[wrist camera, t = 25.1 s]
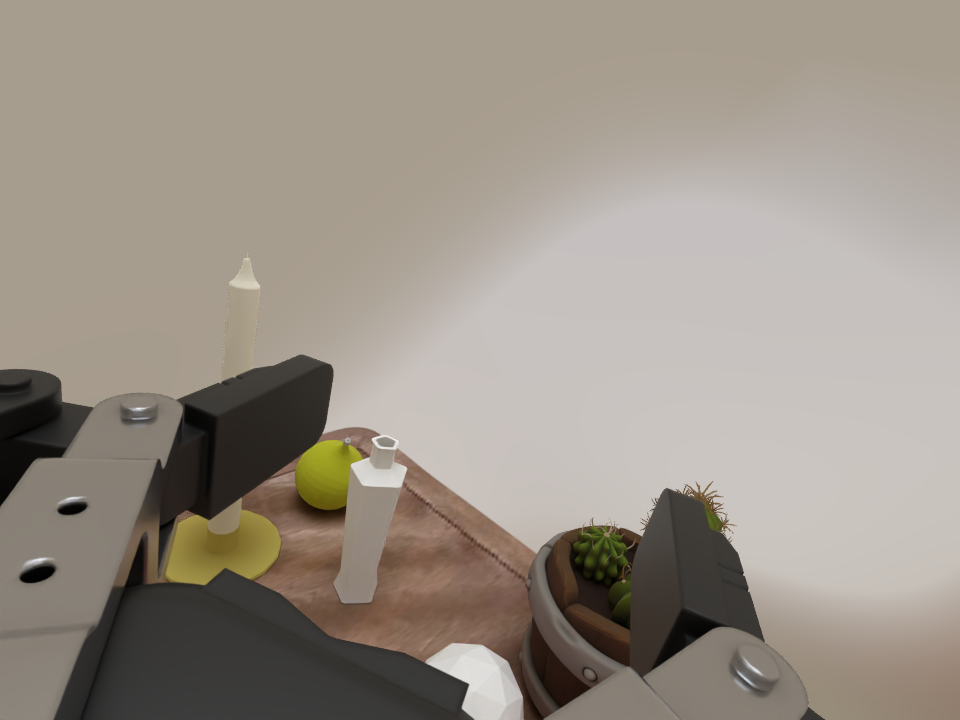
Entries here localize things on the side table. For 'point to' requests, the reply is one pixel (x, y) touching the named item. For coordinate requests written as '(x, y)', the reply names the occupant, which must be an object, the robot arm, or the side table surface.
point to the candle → (236, 532)
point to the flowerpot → (582, 610)
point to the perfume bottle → (368, 519)
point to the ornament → (326, 473)
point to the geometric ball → (482, 681)
